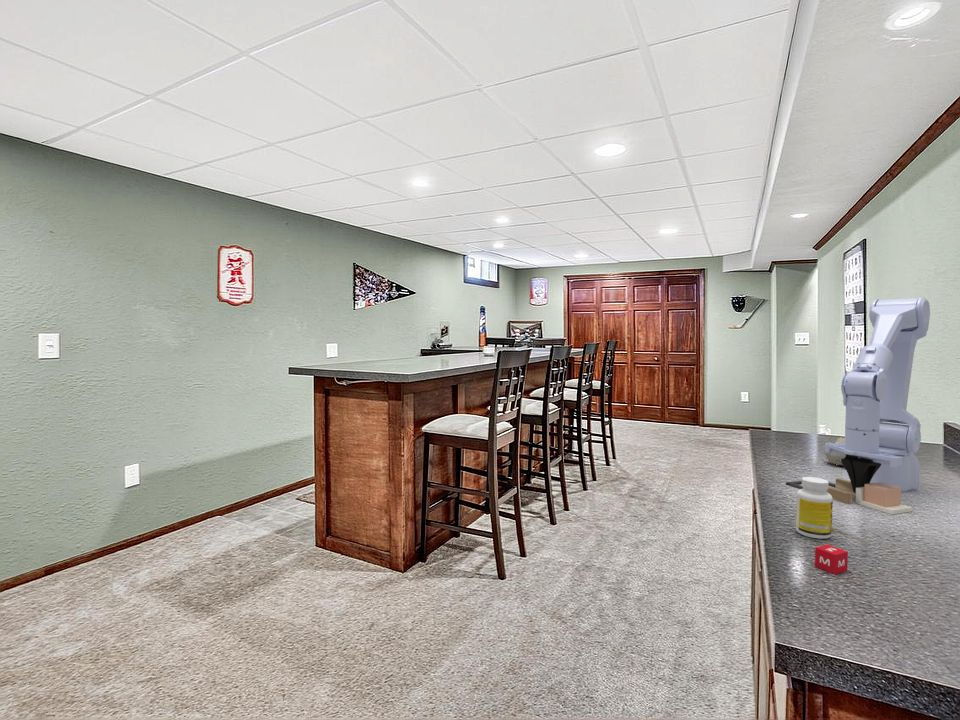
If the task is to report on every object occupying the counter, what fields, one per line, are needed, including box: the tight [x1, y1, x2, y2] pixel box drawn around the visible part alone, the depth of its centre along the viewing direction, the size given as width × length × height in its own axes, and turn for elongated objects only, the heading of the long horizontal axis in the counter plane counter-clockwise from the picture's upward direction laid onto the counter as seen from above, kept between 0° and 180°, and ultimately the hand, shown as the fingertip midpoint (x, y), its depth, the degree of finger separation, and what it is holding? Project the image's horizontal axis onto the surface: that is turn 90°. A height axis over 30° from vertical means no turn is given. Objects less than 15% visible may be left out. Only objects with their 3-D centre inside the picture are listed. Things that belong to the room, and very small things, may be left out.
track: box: [827, 477, 856, 505], centre depth 106 cm, size 10×16×3 cm, turn 18°
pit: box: [785, 480, 836, 490], centre depth 117 cm, size 10×5×1 cm, turn 108°
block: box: [864, 482, 902, 507], centre depth 102 cm, size 4×4×4 cm
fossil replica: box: [824, 437, 846, 466], centre depth 137 cm, size 12×8×10 cm
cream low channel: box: [855, 487, 913, 515], centre depth 102 cm, size 6×7×3 cm
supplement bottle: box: [795, 476, 834, 540], centre depth 90 cm, size 5×5×10 cm
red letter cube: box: [814, 544, 849, 575], centre depth 77 cm, size 3×3×3 cm
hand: (859, 493), depth 106 cm, fingers closed
